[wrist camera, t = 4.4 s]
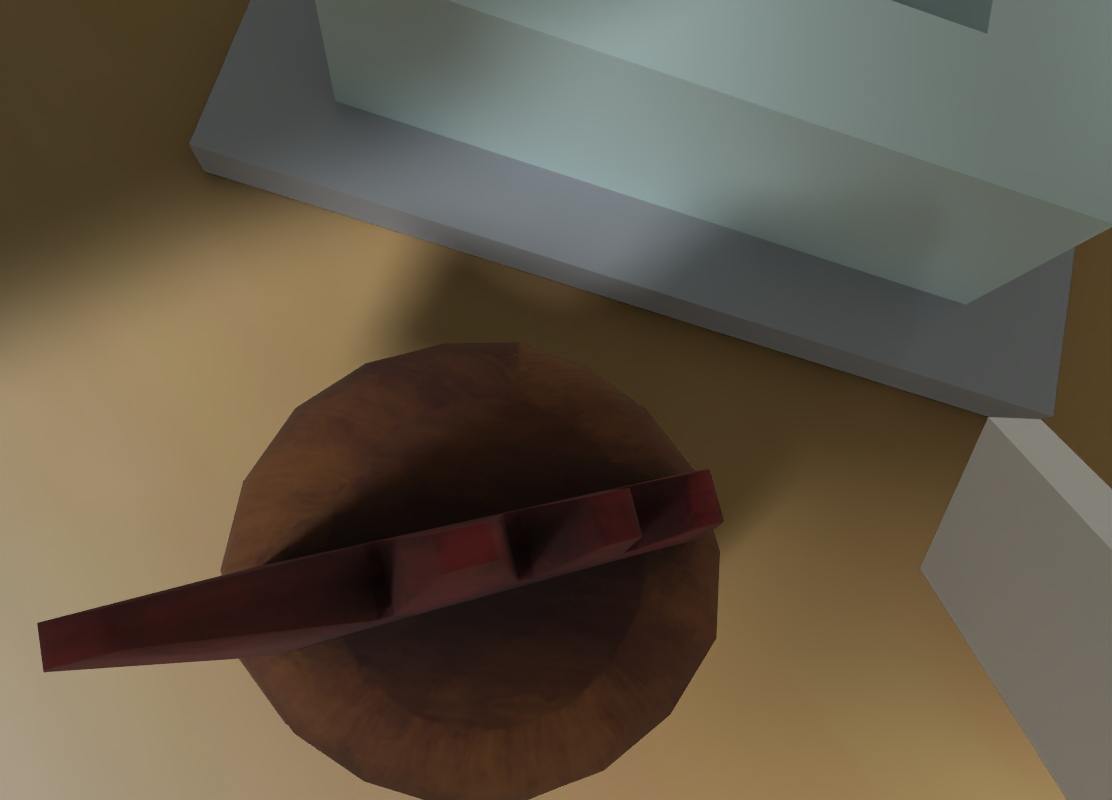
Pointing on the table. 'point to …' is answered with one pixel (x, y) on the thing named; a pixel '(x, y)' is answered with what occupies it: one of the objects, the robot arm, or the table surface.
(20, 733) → the table surface
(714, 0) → the collar stand
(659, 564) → the wooden figurine
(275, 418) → the table surface
